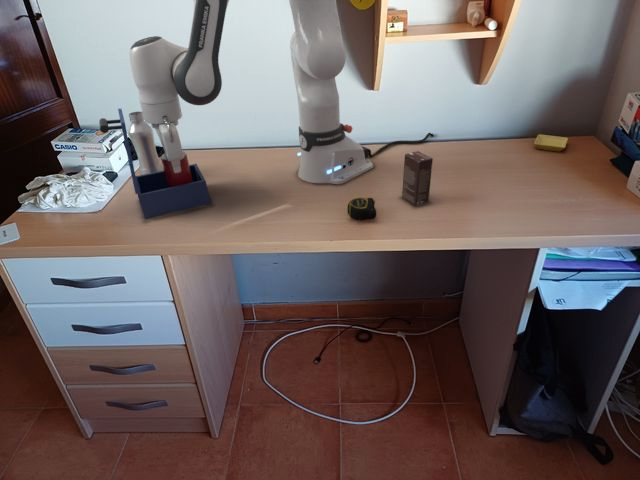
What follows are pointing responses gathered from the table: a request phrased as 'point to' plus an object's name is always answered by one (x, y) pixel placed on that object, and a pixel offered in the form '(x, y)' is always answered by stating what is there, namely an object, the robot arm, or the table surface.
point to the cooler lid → (105, 128)
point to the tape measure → (362, 209)
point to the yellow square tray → (550, 142)
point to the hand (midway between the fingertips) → (174, 165)
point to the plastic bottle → (144, 144)
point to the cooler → (170, 193)
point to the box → (417, 178)
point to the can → (173, 177)
